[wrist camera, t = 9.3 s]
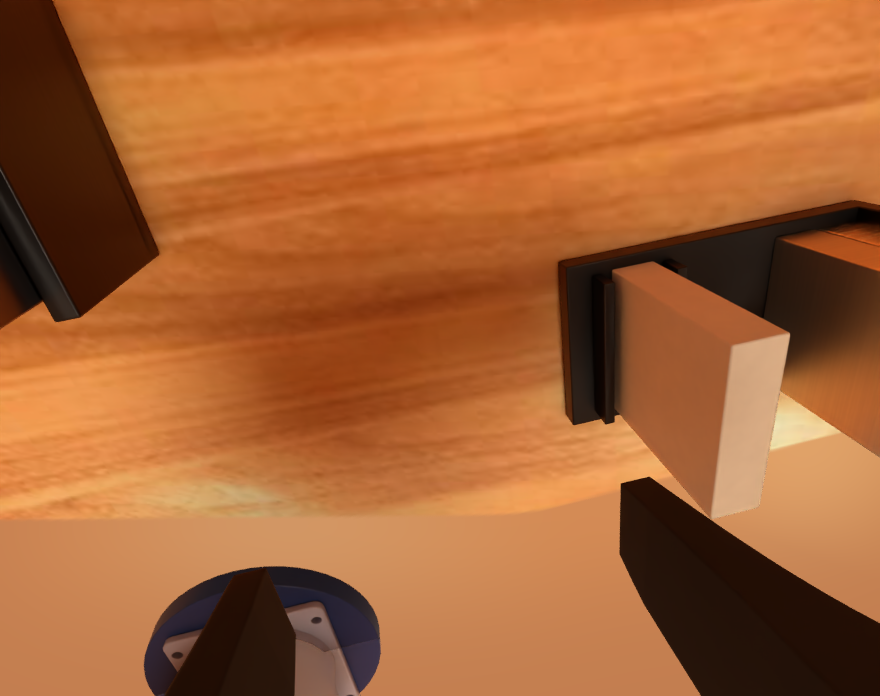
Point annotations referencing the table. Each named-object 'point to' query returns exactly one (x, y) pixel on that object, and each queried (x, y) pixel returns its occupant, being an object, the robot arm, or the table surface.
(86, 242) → the black bookend
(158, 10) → the table surface
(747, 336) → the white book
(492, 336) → the table surface
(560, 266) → the black rack
